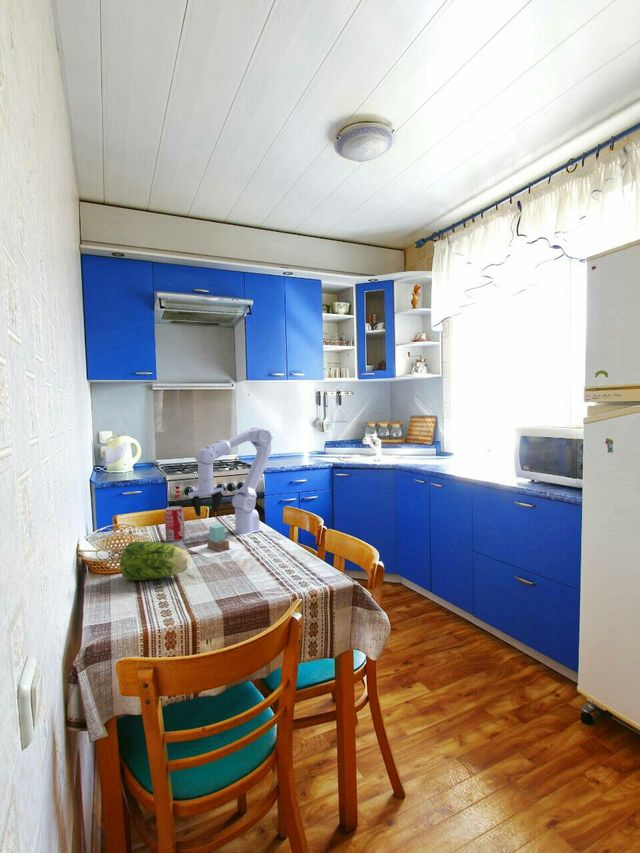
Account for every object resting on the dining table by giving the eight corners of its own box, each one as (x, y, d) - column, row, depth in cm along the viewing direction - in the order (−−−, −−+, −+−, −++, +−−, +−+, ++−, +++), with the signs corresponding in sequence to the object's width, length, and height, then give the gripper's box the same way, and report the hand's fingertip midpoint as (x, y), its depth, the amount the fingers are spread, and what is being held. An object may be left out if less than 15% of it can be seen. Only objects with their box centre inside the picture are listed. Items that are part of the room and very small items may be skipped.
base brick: (217, 544, 171) (216, 536, 170) (229, 549, 165) (228, 541, 165) (207, 547, 168) (207, 539, 168) (219, 551, 162) (219, 543, 162)
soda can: (181, 543, 176) (180, 509, 175) (163, 543, 176) (161, 509, 175) (187, 537, 183) (186, 505, 182) (169, 538, 183) (168, 505, 182)
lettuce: (185, 585, 134) (183, 547, 133) (114, 586, 134) (113, 548, 133) (195, 571, 145) (194, 536, 145) (131, 572, 145) (129, 537, 145)
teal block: (219, 537, 169) (218, 524, 169) (225, 539, 166) (224, 526, 166) (209, 540, 166) (209, 526, 166) (215, 542, 164) (215, 528, 163)
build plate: (224, 540, 178) (224, 539, 178) (246, 548, 168) (246, 546, 168) (187, 550, 166) (187, 548, 166) (207, 559, 156) (207, 557, 156)
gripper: (216, 475, 186) (217, 508, 187) (183, 480, 176) (184, 515, 176) (226, 477, 181) (227, 511, 182) (193, 482, 171) (194, 518, 171)
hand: (207, 513), depth 179 cm, fingers open, 7 cm apart
